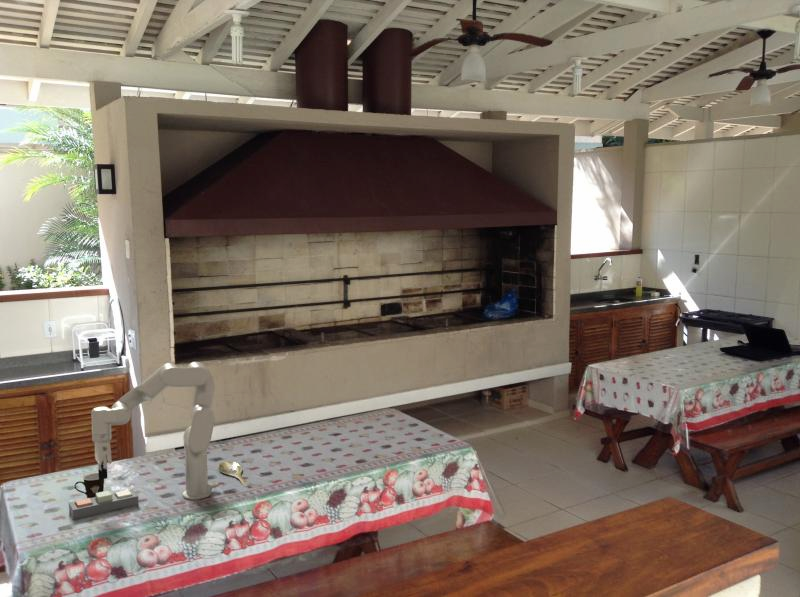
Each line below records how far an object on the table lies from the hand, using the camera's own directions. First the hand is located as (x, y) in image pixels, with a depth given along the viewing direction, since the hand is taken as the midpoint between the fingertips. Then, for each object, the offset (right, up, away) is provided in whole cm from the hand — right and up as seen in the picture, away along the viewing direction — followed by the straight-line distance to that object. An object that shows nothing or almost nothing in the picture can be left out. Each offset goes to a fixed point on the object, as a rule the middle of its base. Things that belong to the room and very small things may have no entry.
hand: (103, 478), depth 302 cm
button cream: (+7, -12, +6) cm, 15 cm away
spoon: (+48, -10, +40) cm, 63 cm away
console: (0, -14, +2) cm, 14 cm away
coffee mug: (-10, -12, +13) cm, 21 cm away
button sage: (0, -11, +1) cm, 11 cm away
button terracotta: (-7, -13, -3) cm, 15 cm away
